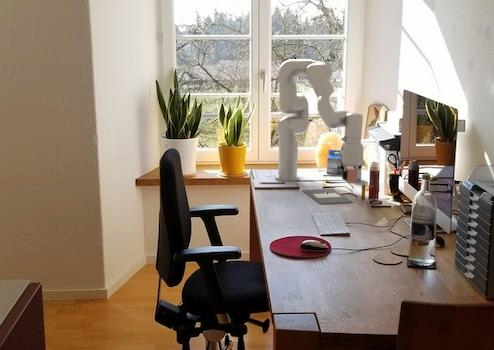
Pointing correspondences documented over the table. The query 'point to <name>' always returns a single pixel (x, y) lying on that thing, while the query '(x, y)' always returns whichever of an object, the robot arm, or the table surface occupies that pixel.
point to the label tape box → (333, 162)
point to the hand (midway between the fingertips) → (349, 178)
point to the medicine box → (357, 173)
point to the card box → (351, 175)
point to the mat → (327, 196)
